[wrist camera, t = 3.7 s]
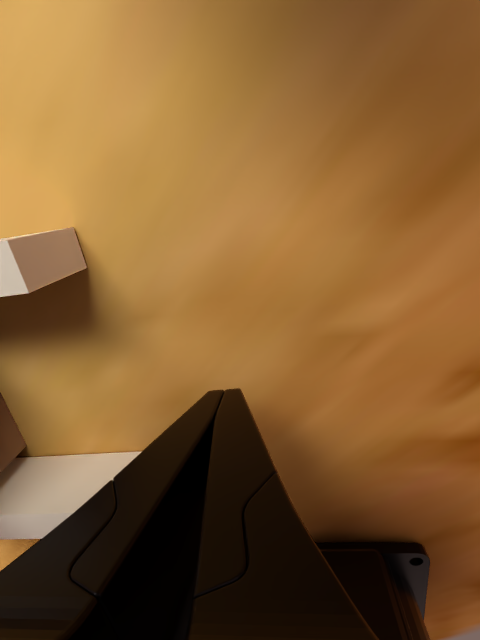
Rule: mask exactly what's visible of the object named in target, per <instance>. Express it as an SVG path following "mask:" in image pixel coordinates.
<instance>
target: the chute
mask: <svg viewBox="0 0 480 640" xmlns="http://www.w3.org/2000/svg"><path fill="white" fill-rule="evenodd" d="M86 268H87V266H86V263H85V260H84V257H83V254H82V251H81V248H80V246H79V243H78V240H77V237H76V234H75V231H74V228H73V227H71V228H65V229H59V230H52V231H46V232H40V233H34V234H27V235H21V236H15V237H9V238H3V239H0V297H4V296H11V295H19V294H26V293H31V292H33V291H35V290H37V289H40V288H42V287H44V286H47V285H49V284H51V283H53V282H56V281H58V280H60V279H63V278H65V277H67V276H70V275H72V274H74V273H76V272H79V271H81V270H83V269H86ZM141 452H142V451H140V452H121V453H102V454H82V455H63V456H44V457H25V458H14V459H13V460H12V461H11V463H10V464H9V465H8V466H7V467H6V468H5V469H4V470H3V471H2V472H1V473H0V539H42V538H43V537H44V536H46V535H47V534H48V533H49V532H51V531H52V530H53V529H54V528H55V527H57V526H58V525H59V524H60V523H62V522H63V521H64V520H65V519H66V518H68V517H69V516H70V515H71V514H73V513H74V512H75V511H76V510H77V509H78V508H80V507H81V506H82V505H83V504H84V503H85V502H86V501H88V500H89V499H90V498H91V497H92V496H93V495H94V494H96V493H97V492H98V491H99V490H100V489H101V488H102V487H103V486H104V485H106V484H107V483H108V482H109V481H110V480H113V478H114V477H115V476H116V475H117V474H118V473H119V472H120V471H121V470H122V469H123V468H124V467H126V466H127V465H128V464H129V463H130V462H131V461H132V460H133V459H134V458H136V457H137V456H138V455H139V454H140V453H141Z"/></svg>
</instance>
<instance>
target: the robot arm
mask: <svg viewBox="0 0 480 640" xmlns="http://www.w3.org/2000/svg"><path fill="white" fill-rule="evenodd" d="M429 566H430V560H429V557H428V554H427V552H426V550H425V548H424V547H423V546H422V545H421V544H418V543H315V542H314V541H313V539H312V537H311V536H310V534H309V533H308V531H307V529H306V527H305V526H304V524H303V522H302V521H301V519H300V517H299V515H298V514H297V512H296V510H295V508H294V506H293V504H292V502H291V500H290V498H289V496H288V494H287V492H286V490H285V488H284V486H283V484H282V481H281V479H280V477H279V475H278V474H277V470H276V468H275V466H274V464H273V461H272V459H271V457H270V454H269V452H268V450H267V448H266V445H265V443H264V441H263V439H262V436H261V434H260V432H259V429H258V427H257V425H256V423H255V420H254V418H253V416H252V414H251V411H250V409H249V407H248V404H247V402H246V400H245V398H244V395H243V393H242V391H241V389H227V390H225V391H224V390H213V391H209V392H207V393H206V394H205V395H204V396H203V397H202V398H201V399H200V400H198V401H197V402H196V403H195V404H194V405H193V406H192V407H191V408H190V409H188V410H187V411H186V412H185V413H184V414H183V415H182V416H181V417H180V418H179V419H177V420H176V421H175V422H174V423H173V424H172V425H171V426H170V427H169V428H168V429H166V430H165V431H164V432H163V433H162V434H161V435H160V436H159V437H158V438H156V439H155V440H154V441H153V442H152V443H151V444H150V445H149V446H148V447H147V448H145V449H144V450H143V451H142V452H141V453H140V454H139V455H138V456H137V457H136V458H134V459H133V460H132V461H131V462H130V463H129V464H128V465H127V466H126V467H124V468H123V469H122V470H121V471H120V472H119V473H118V474H117V475H116V476H115V477H114V478H113V480H110V481H109V482H108V483H107V484H106V485H104V486H103V487H102V488H101V489H100V490H99V491H98V492H97V493H96V494H94V495H93V496H92V497H91V498H90V499H89V500H88V501H86V502H85V503H84V504H83V505H82V506H81V507H80V508H78V509H77V510H76V511H75V512H74V513H73V514H71V515H70V516H69V517H68V518H66V519H65V520H64V521H63V522H62V523H60V524H59V525H58V526H57V527H55V528H54V529H53V530H52V531H51V532H49V533H48V534H47V535H46V536H44V537H43V538H42V539H41V540H39V541H38V542H37V543H36V544H34V545H33V546H32V547H30V548H29V549H28V550H27V551H25V552H24V553H23V554H22V555H20V556H19V557H18V558H17V559H15V560H14V561H13V562H11V563H10V564H9V565H8V566H6V567H5V568H4V569H3V570H1V571H0V640H430V638H429V635H428V632H427V629H426V626H425V624H424V613H425V603H426V594H427V585H428V575H429Z"/></svg>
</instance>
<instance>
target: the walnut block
mask: <svg viewBox="0 0 480 640" xmlns="http://www.w3.org/2000/svg"><path fill="white" fill-rule="evenodd" d="M26 446H27V445H26V443H25V441H24V439H23V437H22V435H21V433H20V431H19V429H18V427H17V425H16V423H15V421H14V419H13V417H12V415H11V413H10V411H9V409H8V407H7V405H6V403H5V401H4V399H3V397H2V395H1V393H0V473H1V472H2V471H3V470H4V469H5V468H6V467H7V466H8V465H9V464H10V463H11V461H12V460H13V459H14V458H15V457H16V456H17V455H18V454H19V453H20V452H21V451H22V450H23V449H24V448H25V447H26Z"/></svg>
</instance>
